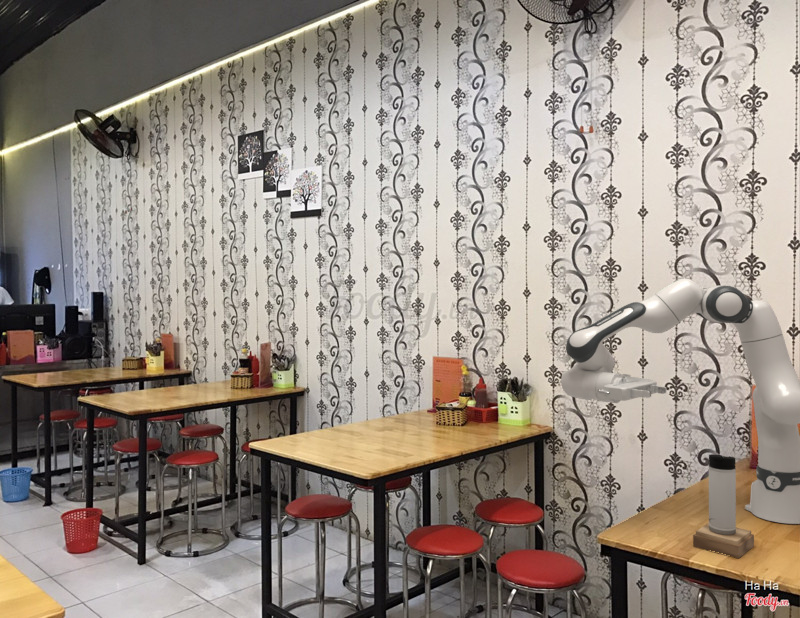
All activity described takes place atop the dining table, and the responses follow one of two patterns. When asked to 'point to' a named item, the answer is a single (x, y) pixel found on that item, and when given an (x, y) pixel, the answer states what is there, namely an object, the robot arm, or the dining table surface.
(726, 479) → the travel mug
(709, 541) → the plinth
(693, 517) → the dining table surface
